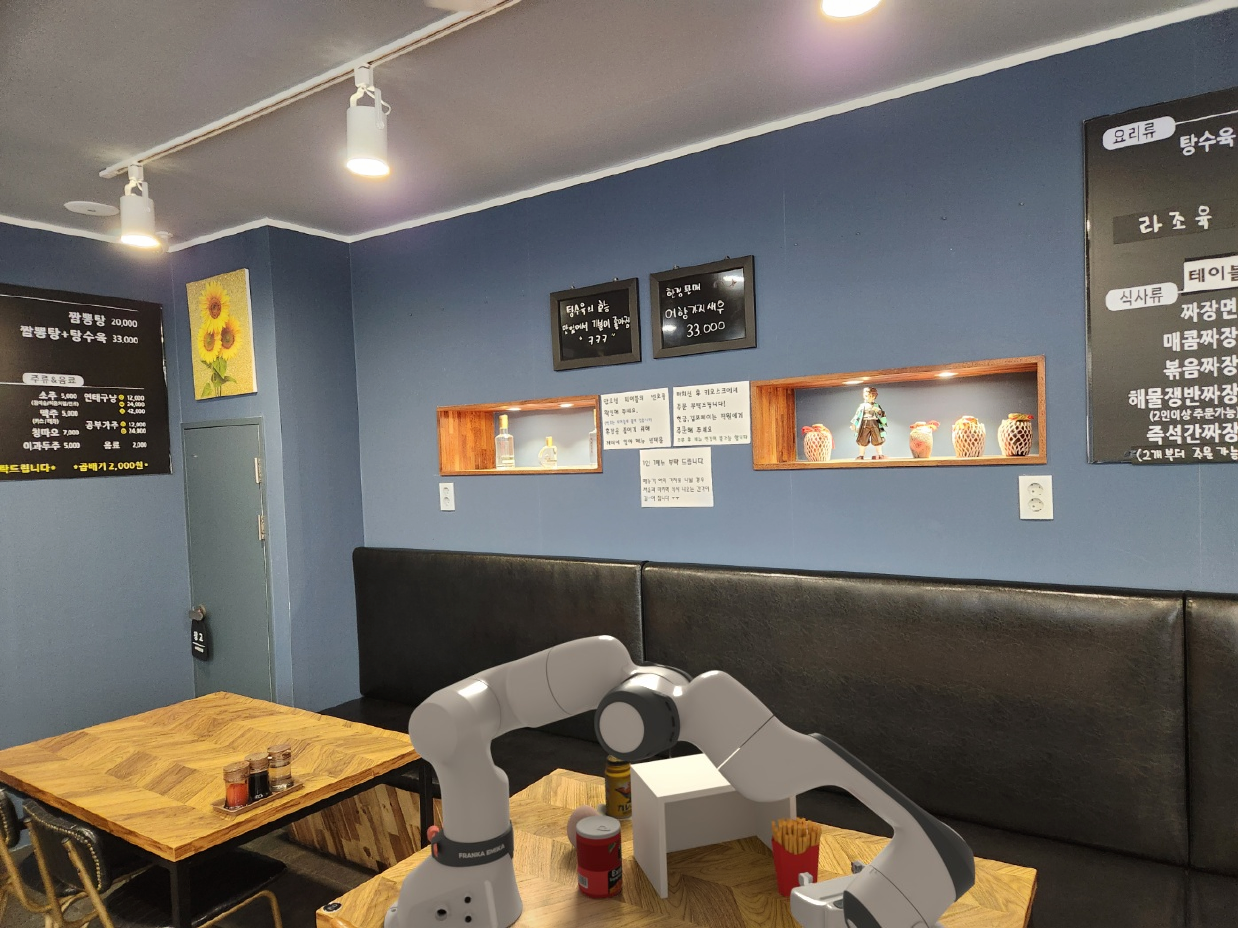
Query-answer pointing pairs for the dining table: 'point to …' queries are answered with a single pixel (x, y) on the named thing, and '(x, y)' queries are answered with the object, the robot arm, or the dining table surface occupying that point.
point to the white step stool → (692, 812)
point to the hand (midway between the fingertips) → (829, 871)
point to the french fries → (795, 852)
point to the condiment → (617, 790)
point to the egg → (575, 817)
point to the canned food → (599, 856)
